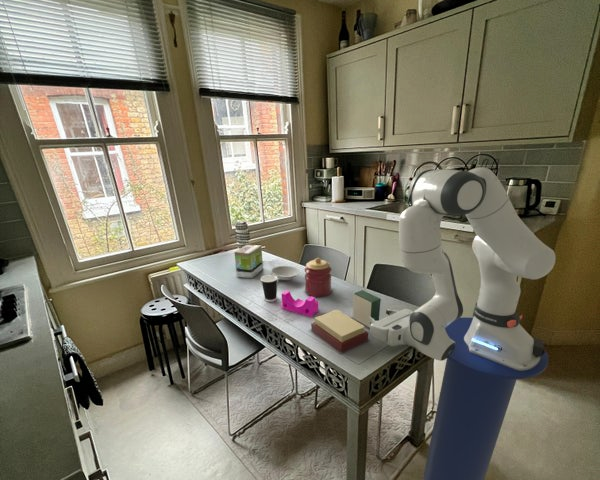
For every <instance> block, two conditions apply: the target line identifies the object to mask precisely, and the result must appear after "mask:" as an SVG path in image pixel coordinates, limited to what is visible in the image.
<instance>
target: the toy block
mask: <svg viewBox="0 0 600 480" xmlns="http://www.w3.org/2000/svg"><path fill="white" fill-rule="evenodd" d="M281 305H282V306H281V308H282V309H283V310H285V311H289V312H292V313H296V314H299V315H303V316H307V317H311V318H312V317H313V316H314V315H315V314H317V313H318V312H319V301H318V300H316V297H315V296H310V295H309V297H307V298H305V300H302V299H300V298H297V299H295V298H294V297H293V296H292V294H291V291H290V290H284V291H283V292H282V293H281Z"/></svg>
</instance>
